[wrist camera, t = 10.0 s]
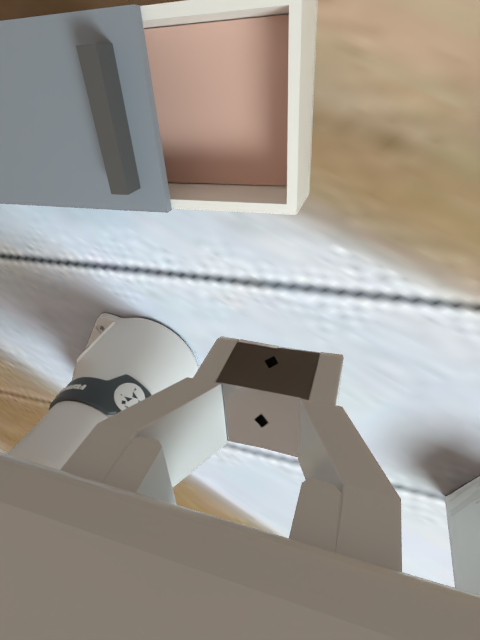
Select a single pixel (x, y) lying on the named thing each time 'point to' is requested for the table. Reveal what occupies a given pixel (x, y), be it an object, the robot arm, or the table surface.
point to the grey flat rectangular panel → (80, 113)
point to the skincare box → (465, 535)
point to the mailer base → (234, 101)
